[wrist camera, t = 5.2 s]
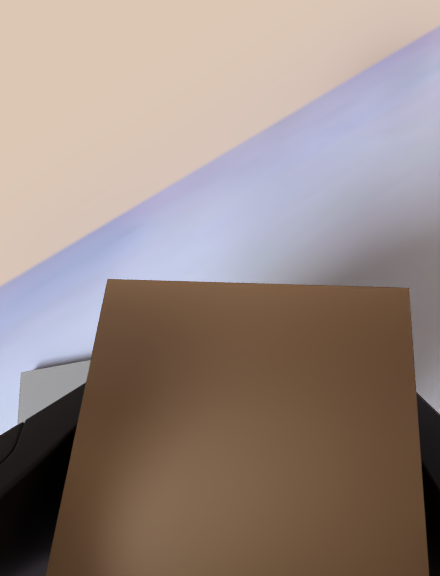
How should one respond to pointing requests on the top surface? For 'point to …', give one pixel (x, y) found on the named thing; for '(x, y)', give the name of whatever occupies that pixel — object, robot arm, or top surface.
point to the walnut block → (246, 435)
